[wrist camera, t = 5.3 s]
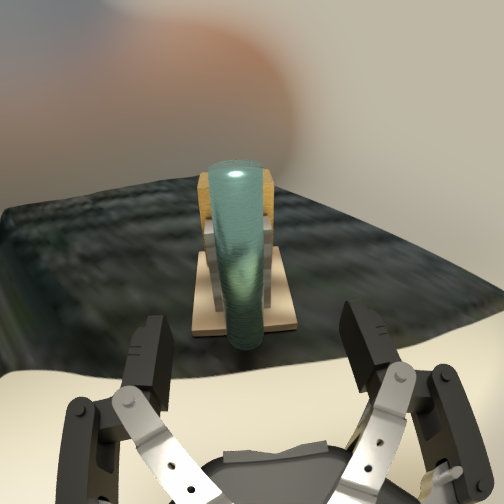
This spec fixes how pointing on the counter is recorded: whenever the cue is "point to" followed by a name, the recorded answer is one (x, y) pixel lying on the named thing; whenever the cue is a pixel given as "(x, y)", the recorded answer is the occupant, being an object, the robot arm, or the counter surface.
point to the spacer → (206, 204)
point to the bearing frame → (210, 299)
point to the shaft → (239, 247)
